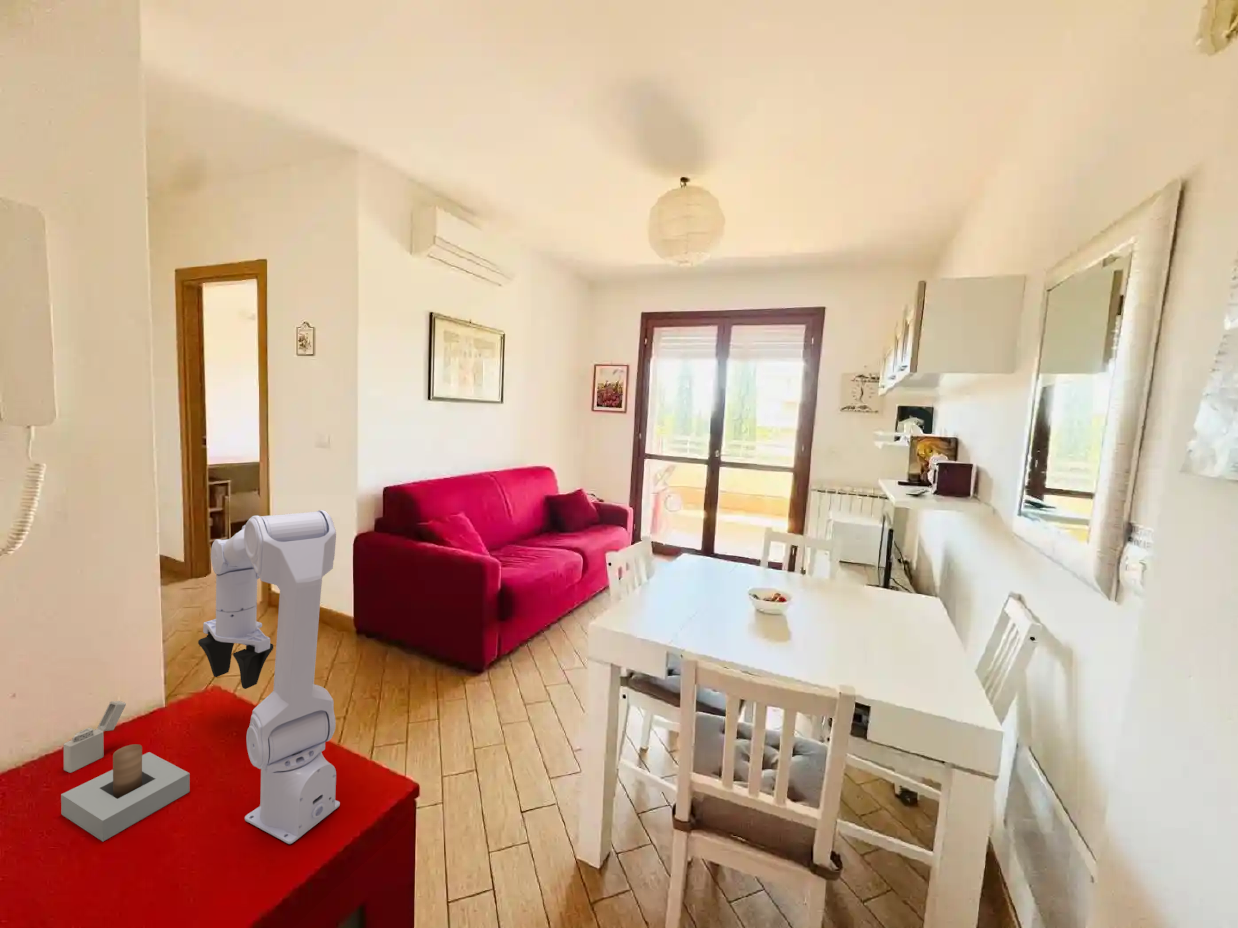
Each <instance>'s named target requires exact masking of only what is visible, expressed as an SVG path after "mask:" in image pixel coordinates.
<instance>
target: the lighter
mask: <svg viewBox="0 0 1238 928" xmlns="http://www.w3.org/2000/svg"><path fill="white" fill-rule="evenodd" d="M126 706H127V703H126V702H125V701H124V702H123V701H121V700H116V701H115V700H113V701H112V700H111V701H110V702H109V704H108V706H107V707H106V709H105V711H104V714H103V716H102V717H101V720H100V721H99V723H98V726H97V728H96V729H94V728H92V727H87V728H84V729H83V730H80V731H78V732H76V733H74V735H73V737H72V739H70V740H67V741H66V742H64V743H63V771H65V772H68V773H73V772H76V771H77V770H80V769H81V768H84V767H86V766H87V765H89V764H92V763H94V762H96V761H98V760H100V759H102V758H104V754H105V753H104V743H105V742H104V732H110V731H114V730H115V728H116V726H117V725H118V722H119V720H120V718H121V715H122V714H123V712H124V709H125V707H126Z"/></svg>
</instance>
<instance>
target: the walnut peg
mask: <svg viewBox="0 0 1238 928" xmlns="http://www.w3.org/2000/svg"><path fill="white" fill-rule="evenodd" d="M142 755H143V746H142V745H141V744H140V743H139V744H136V743H135V744H129V745H125V746H122V747H121V748H120V747H119V748H118V749H117V750H116V751H114V752H113V754H112V770H113V797H115V798H117V799H118V798H120V797H122V796H124V795H126V794H128V793H130V792H132V791H134V790H135V789H137V788H139V787H141V786H142Z"/></svg>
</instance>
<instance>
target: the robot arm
mask: <svg viewBox="0 0 1238 928" xmlns="http://www.w3.org/2000/svg"><path fill="white" fill-rule="evenodd" d="M336 531H337V530H336V527H335V522H334V520H333V518H332V516H331V515H330V514H329V513H328V512H327V511H326V510H323V509H319V510H316V511H306V512H296V513H286V514H274V515H271V514H270V515H263V516H261V515H259V514H257V515H252V516H251V517H250V518H249V519H248V520H247V522H246V523H245V524H244V525H242V527H241V530H239V531H238V532H236V533H235V534H234V535H233V536H232V537H230V538H227V539H214V541H213V542H212V545H211V548H210V549H211V551H210V561H211V566H212V569H213V570H212V571H213V572H214V574H215V575H216V578H215V618H214V619H211V620H208V621H205V622H203V626H202V627H203V628H202V629H203V630H202V631H203V632H202V633H204V634H206V637H202V638H200V639H198V641H197V644H198V645H199V646H200V647H201V649H202V650H203V651H204V654H205V655H206V658H207V660H208V663H209V666H210V669H211V671H212V674H213V675H212V676H213V677H215V678H218V677H220V676H223V675H225V674H228V673H229V671H230V667H231V662H232V661H231V660H232V656H233V658H234V659H235V661H236V663H237V665H238V669H239V673H240V675H239V676H240V684H241V687H242V689H244V690H247V689H249V688H251V687H254V686H256V685H257V684H258V683H259V678H260V675H261V672H262V669H263V667H264V665H265V662H266V660H267V659H268V657H269V656H270V654H271V653H272V651H273V650H274V644H273V643H271V637H269V636H266V634H265V633H264V632H263V631H262V630H261V628H262V627H263V623H262V622H260V621H258V620H257V612H258V611H257V609H258V607H257V606H258V580H259V579H260V581H261V582H263V583H266V584H271V585H274V586H277V588H278V590H279V596H278V597H279V599H278V617H277V630H276V631H277V632H276V644H275V645H276V646H275V659H274V660H275V661H274V676H273V690H272V691H271V693H270V694H269V695H268V696H267V697H265V698H264V699H263V700H262V701H260V703H259V704H258V705H257V706H255V707H254V708H253V710H252V713H251V716H250V721H249V722H250V723H249V725H248V726H249V727H248V728H247V731H246V750H247V753H248V754H247V755H248V759H249V760H250V763H251V764H252V766H253V767H255V768H257V769H259V770H260V795H259V796H260V804H259V806H258V807H256V808H255V809H254V810H252V811H250V812H249V813H247V814H246V815H245V816H244V821H245V822H247V823H250V824H251V825H253V826H255V827H256V828H259V830H262V831H264V832H266V833H268V834H269V835H271V836H273V837H275V838H277V839H279V840H281V841H282V842H284V843H286V844H288V845H291V844H293V843H294V842H296V841H297V840H298V839H300V838H301V837H302V836H303V835H305V834H306V833H307V832H309V831H310V830H311V829H312V828H314V827H315V826H316V825H317V824H318V823H320V822H321V821H322V820H324V819H326V818H327V817H328V816H329V815H330V814H331V813H333V812H334V811H335V810H336V809H338V808H339V807H340V805H341V802H340V801H339V800H336V792H337V791H336V785H337V771H336V768H335V766H334V765H333V764H332V763H330V762H329V761H328V760H327V759H326V758H325V757H324V754H323V753H322V752H323V751H325V750H326V742H329V741H330V740H331V739H332V738H333V735H334V734H335V731H336V723H337V722H336V716H335V710H334V709H335V708H334V704H335V703H334V701H335V700H334V698H333V697H332V696H331V694H330V692H329V691H328V690H327V689H326V688H324V686H322V685H321V686H320V685H319V684H315V673H316V672H315V671H316V659H317V648H318V647H317V645H318V633H319V622H320V621H319V620H320V611H321V610H320V609H321V608H320V607H321V598H322V597H321V596H322V585H323V577H324V576H326V575H327V574H328V573H330V571H331V570H333V569H334V561H335V555H336V545H337V544H336V542H337V532H336ZM235 644H241V645H244V646H245V648H244V649H241V650H238V651H235V652H233V648H234V645H235ZM232 652H233V653H232Z"/></svg>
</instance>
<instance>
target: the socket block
mask: <svg viewBox="0 0 1238 928" xmlns="http://www.w3.org/2000/svg"><path fill="white" fill-rule="evenodd" d="M190 775H191V774H190V772H188V771H186V770H185V769H182V768H180V767H179V766H176V765H175V764H173V763H172V762H169V761H167V760H165V759H163V758H161V757H159V756H157V755H156V754H154V753H152V752H150V751H149V752H146V753H144V754H142V786H141V787H139V788H137V789H135V790H134V791H132V792H130V793H128V794H126V795H124V796H122V797H120V798H118V799H117V798H115V797H113V769H111V770H108V771H106V772H105V773H103V774H100V775H99V776H97V777H94V778H93V779H91V780H88V781H86V782H84V783H81V784H80V785H78V786H76V787H73V788H71V789H69V790H67V791H65V792H63V793H61V794H60V803H61V804H60V805H61V811H60V812H61V815H62V817H65V819H67V820H70V821H71V822H72V823H73V824H75V825H77V826H78V827H80V828H81V829H83V830H84V831H85V832H87V833H89V834H90V835H92V836H94V837H95V838H97V839H98V840H99V841H101V842H104V841H106V840H108V839H110V838H111V837H113V836H115V835H117V834H119V833H120V832H123V831H124V830H125V829H127V828H129V827H131V826H132V825H134V824H136V823H138V822H139V821H141V820H144V819H145V818H147V817H148V816H150V815H152V814H154V813H155V812H157V811H159V810H161V809H162V808H164V807H166V806H167V805H169V804H171V803H172V802H174V801H176V800H177V799H180V798H182V797H183V796H185V795H186V794H188V793H190V786H191V785H190V782H191V781H190V779H191V778H190Z"/></svg>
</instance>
